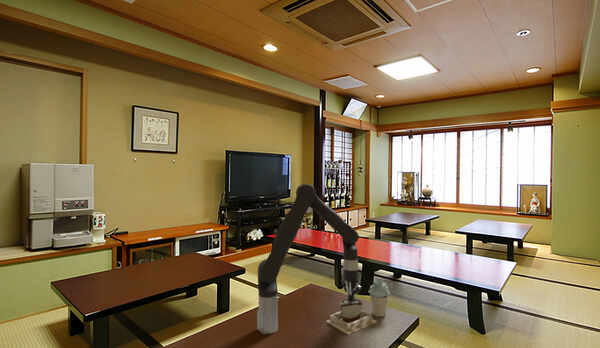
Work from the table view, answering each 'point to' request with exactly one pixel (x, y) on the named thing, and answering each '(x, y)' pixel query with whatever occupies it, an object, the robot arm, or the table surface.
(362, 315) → the holder
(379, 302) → the ice cream cone
